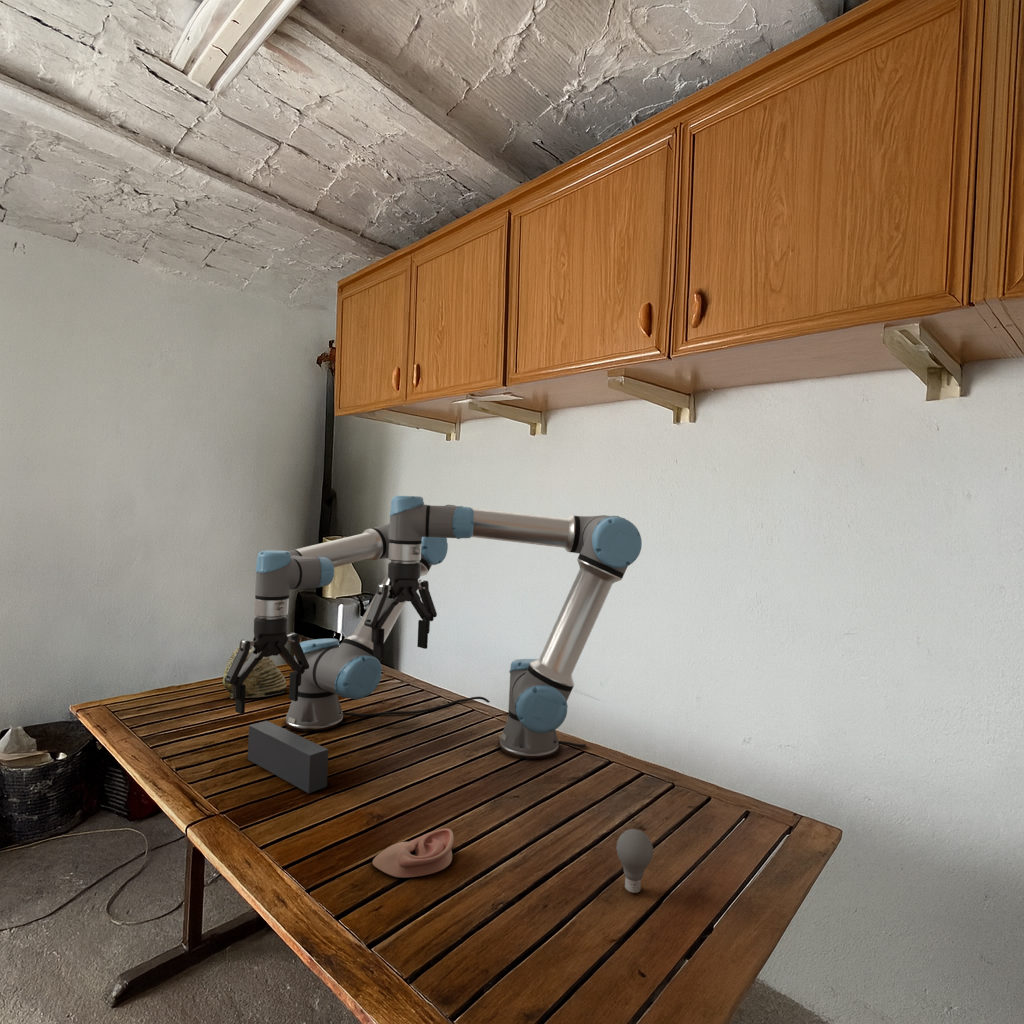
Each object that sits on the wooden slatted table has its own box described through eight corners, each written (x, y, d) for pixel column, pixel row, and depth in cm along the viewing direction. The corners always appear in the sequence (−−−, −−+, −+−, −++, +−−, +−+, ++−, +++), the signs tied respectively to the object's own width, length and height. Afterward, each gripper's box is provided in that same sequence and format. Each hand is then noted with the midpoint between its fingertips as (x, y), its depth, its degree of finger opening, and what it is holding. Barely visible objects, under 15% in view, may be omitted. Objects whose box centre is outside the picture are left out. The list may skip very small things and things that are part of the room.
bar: (247, 759, 151) (248, 725, 150) (265, 753, 154) (266, 720, 154) (308, 793, 135) (310, 755, 135) (327, 786, 139) (328, 749, 138)
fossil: (218, 695, 195) (220, 647, 195) (278, 685, 208) (279, 640, 207) (228, 703, 189) (230, 653, 188) (289, 692, 201) (290, 645, 201)
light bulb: (610, 879, 108) (613, 822, 108) (644, 879, 109) (647, 822, 109) (619, 902, 102) (622, 840, 102) (655, 901, 103) (658, 840, 103)
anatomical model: (365, 849, 107) (391, 816, 119) (364, 872, 107) (390, 837, 119) (440, 861, 105) (459, 827, 116) (439, 885, 105) (459, 848, 116)
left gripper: (227, 625, 137) (223, 722, 137) (326, 613, 156) (322, 698, 157) (210, 619, 142) (207, 714, 142) (308, 608, 161) (304, 691, 161)
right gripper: (372, 566, 136) (368, 664, 136) (453, 560, 155) (449, 646, 156) (350, 562, 140) (346, 657, 141) (432, 557, 160) (428, 641, 160)
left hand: (267, 706), depth 149 cm, fingers open, 13 cm apart
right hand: (400, 652), depth 148 cm, fingers open, 13 cm apart
